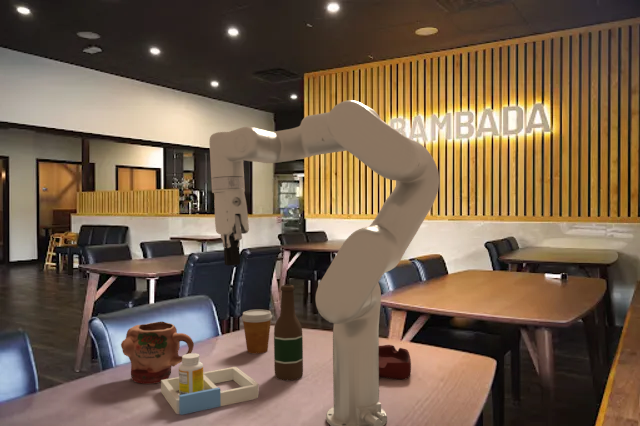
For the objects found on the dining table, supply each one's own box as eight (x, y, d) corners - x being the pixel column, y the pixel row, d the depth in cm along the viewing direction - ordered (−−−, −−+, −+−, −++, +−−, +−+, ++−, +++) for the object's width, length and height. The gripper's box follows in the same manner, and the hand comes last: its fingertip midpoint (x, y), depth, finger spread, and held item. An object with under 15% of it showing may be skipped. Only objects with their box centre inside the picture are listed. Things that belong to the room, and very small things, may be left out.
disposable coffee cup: (238, 349, 159) (237, 311, 159) (267, 345, 163) (266, 308, 163) (247, 357, 151) (246, 317, 150) (277, 352, 155) (276, 313, 154)
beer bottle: (299, 382, 129) (298, 288, 128) (270, 380, 130) (268, 287, 130) (306, 372, 136) (305, 283, 136) (278, 370, 138) (277, 282, 138)
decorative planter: (202, 370, 139) (201, 320, 138) (187, 386, 127) (186, 331, 126) (131, 370, 140) (130, 320, 140) (110, 386, 128) (109, 331, 128)
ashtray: (385, 390, 123) (385, 369, 123) (340, 373, 136) (340, 354, 136) (431, 373, 135) (431, 355, 134) (386, 359, 147) (386, 342, 147)
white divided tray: (260, 397, 119) (259, 380, 118) (177, 415, 109) (177, 397, 109) (236, 378, 132) (235, 362, 132) (161, 392, 123) (160, 375, 123)
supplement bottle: (205, 393, 121) (204, 351, 121) (202, 402, 116) (201, 358, 116) (181, 395, 121) (180, 352, 121) (177, 404, 115) (176, 359, 115)
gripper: (256, 183, 113) (260, 265, 113) (231, 188, 126) (235, 261, 126) (223, 183, 109) (228, 268, 109) (202, 188, 122) (206, 264, 122)
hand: (232, 264), depth 117 cm, fingers closed
